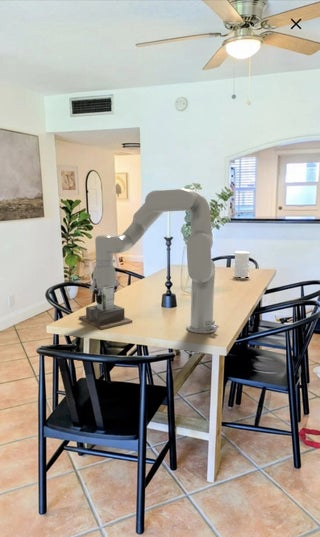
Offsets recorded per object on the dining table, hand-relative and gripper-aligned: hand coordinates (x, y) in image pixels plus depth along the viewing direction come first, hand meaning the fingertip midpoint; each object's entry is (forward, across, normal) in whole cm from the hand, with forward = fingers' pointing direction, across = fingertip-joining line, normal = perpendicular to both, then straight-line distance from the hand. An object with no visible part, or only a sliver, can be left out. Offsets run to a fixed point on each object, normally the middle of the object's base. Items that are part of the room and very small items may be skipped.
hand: (105, 301), depth 177 cm
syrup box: (+7, 0, 0) cm, 7 cm away
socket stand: (+9, 0, 0) cm, 9 cm away
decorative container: (+9, -131, -26) cm, 134 cm away
